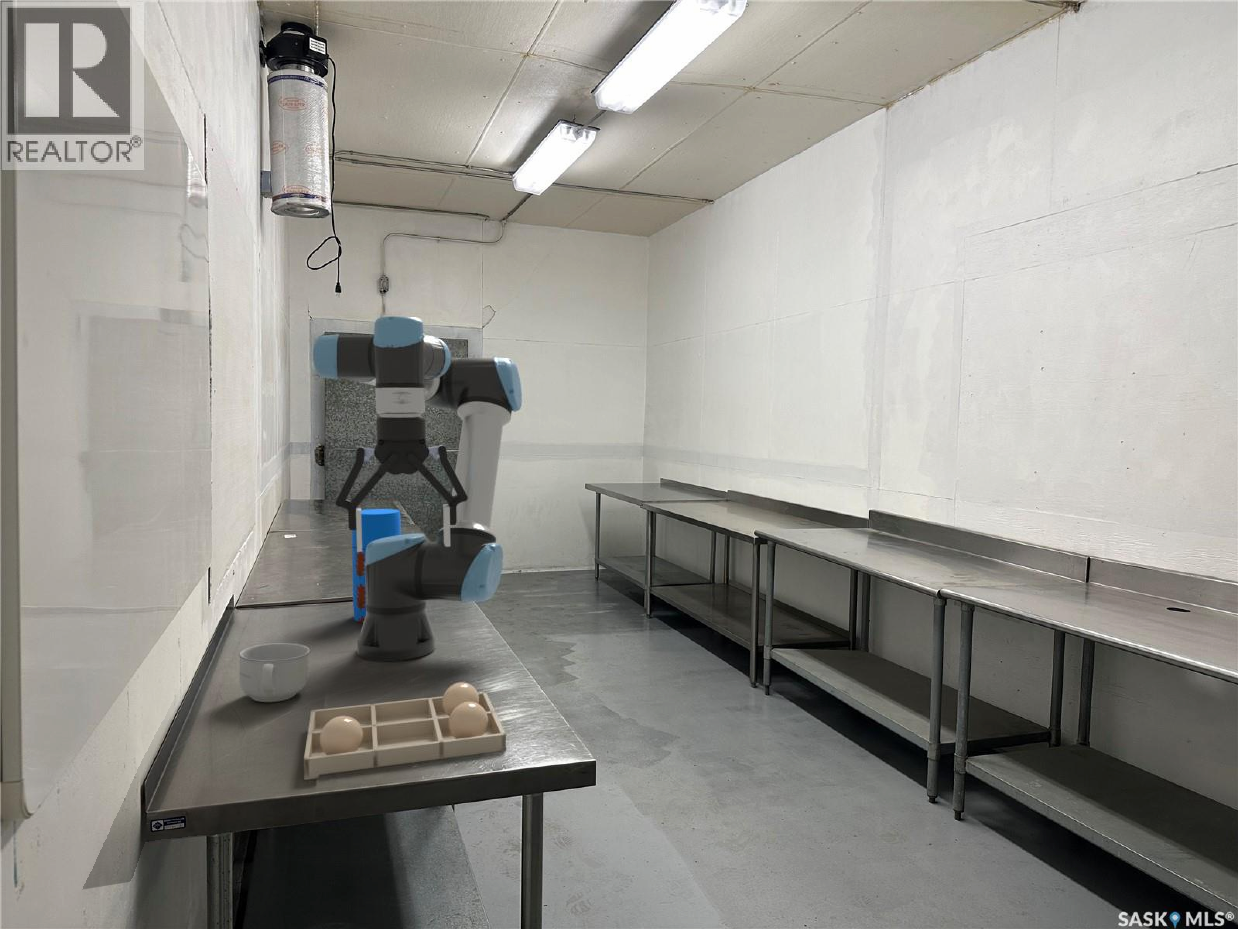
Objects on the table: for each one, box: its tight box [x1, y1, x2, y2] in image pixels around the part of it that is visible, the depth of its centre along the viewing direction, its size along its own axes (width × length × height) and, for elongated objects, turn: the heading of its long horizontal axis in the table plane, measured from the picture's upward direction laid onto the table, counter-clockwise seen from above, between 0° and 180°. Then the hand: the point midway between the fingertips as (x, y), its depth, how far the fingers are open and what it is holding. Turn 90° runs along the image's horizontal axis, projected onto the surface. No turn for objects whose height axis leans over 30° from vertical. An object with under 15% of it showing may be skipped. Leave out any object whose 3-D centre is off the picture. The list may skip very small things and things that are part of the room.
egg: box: [320, 716, 363, 755], centre depth 106 cm, size 6×6×6 cm
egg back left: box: [442, 681, 479, 716], centre depth 120 cm, size 6×6×6 cm
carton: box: [303, 691, 507, 781], centre depth 113 cm, size 18×26×3 cm
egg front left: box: [449, 702, 488, 739], centre depth 112 cm, size 6×6×6 cm
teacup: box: [238, 642, 311, 703], centre depth 129 cm, size 14×11×8 cm
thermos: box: [351, 508, 402, 623], centre depth 181 cm, size 11×11×25 cm
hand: (404, 547), depth 125 cm, fingers open, 13 cm apart
